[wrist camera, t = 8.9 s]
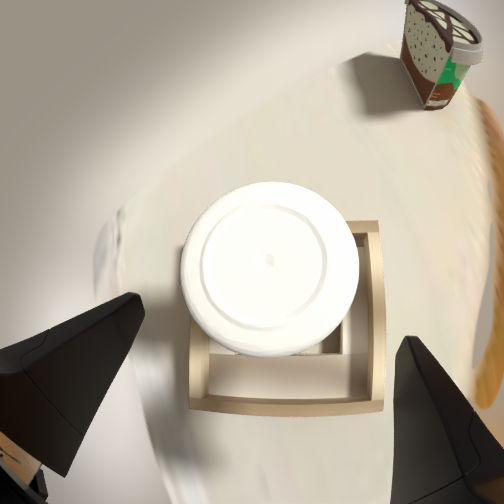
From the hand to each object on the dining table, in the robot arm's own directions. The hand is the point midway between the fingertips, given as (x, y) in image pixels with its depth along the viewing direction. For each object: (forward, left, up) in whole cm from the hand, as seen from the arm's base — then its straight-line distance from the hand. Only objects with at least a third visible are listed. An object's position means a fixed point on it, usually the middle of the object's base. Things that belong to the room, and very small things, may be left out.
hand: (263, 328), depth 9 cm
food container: (+25, -18, -11) cm, 33 cm away
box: (+1, 0, -11) cm, 11 cm away
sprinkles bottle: (+2, 0, -11) cm, 11 cm away
